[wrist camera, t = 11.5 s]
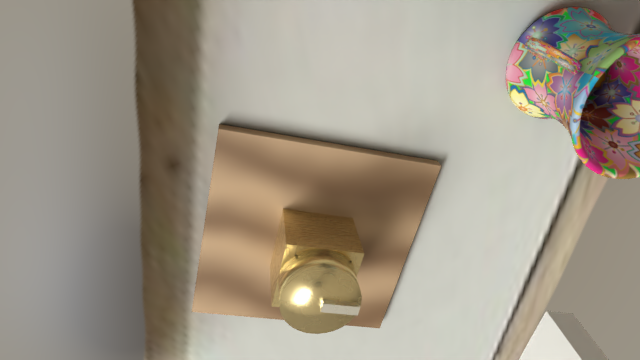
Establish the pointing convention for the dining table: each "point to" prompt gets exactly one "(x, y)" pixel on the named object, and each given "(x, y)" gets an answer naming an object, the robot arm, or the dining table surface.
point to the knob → (316, 271)
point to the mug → (582, 86)
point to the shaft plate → (311, 196)
